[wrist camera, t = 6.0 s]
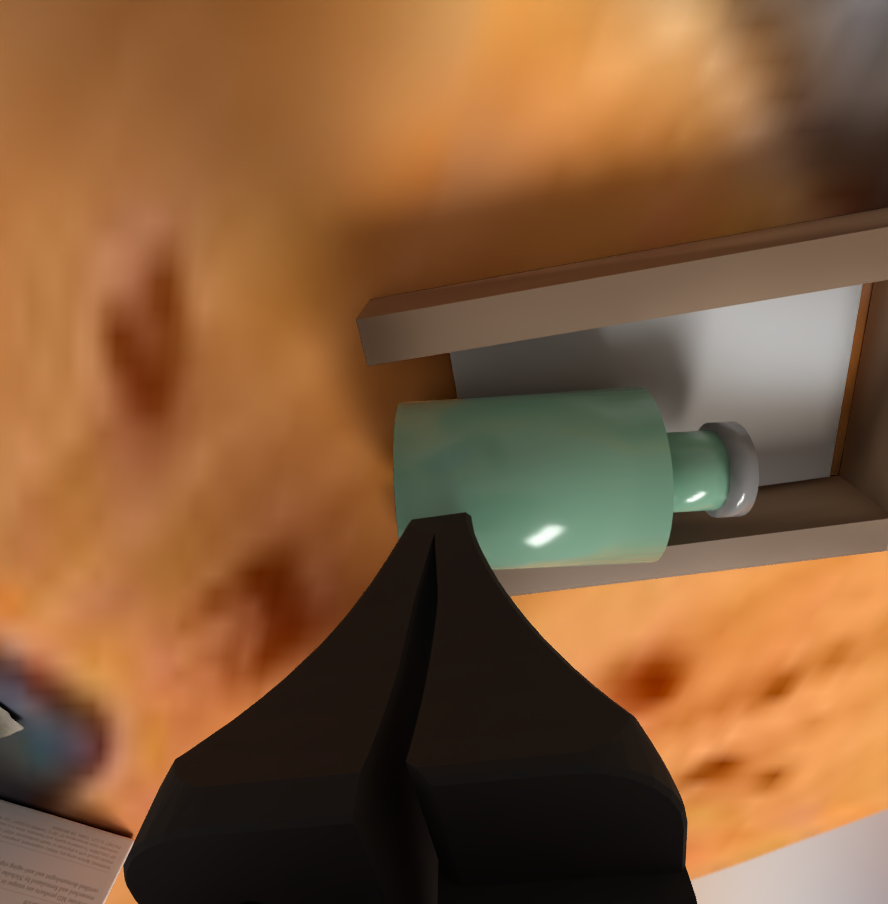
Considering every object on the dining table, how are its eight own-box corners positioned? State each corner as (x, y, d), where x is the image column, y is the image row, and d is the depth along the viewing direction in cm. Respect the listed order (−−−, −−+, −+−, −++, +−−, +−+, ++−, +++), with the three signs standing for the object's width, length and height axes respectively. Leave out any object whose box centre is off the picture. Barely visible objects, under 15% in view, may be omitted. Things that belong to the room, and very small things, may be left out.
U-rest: (870, 500, 18) (928, 545, 16) (430, 557, 20) (427, 606, 17) (936, 198, 14) (1028, 202, 12) (370, 299, 15) (355, 320, 13)
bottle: (419, 508, 18) (687, 493, 18) (410, 612, 14) (758, 596, 14) (404, 376, 16) (710, 355, 16) (386, 454, 12) (805, 429, 11)
